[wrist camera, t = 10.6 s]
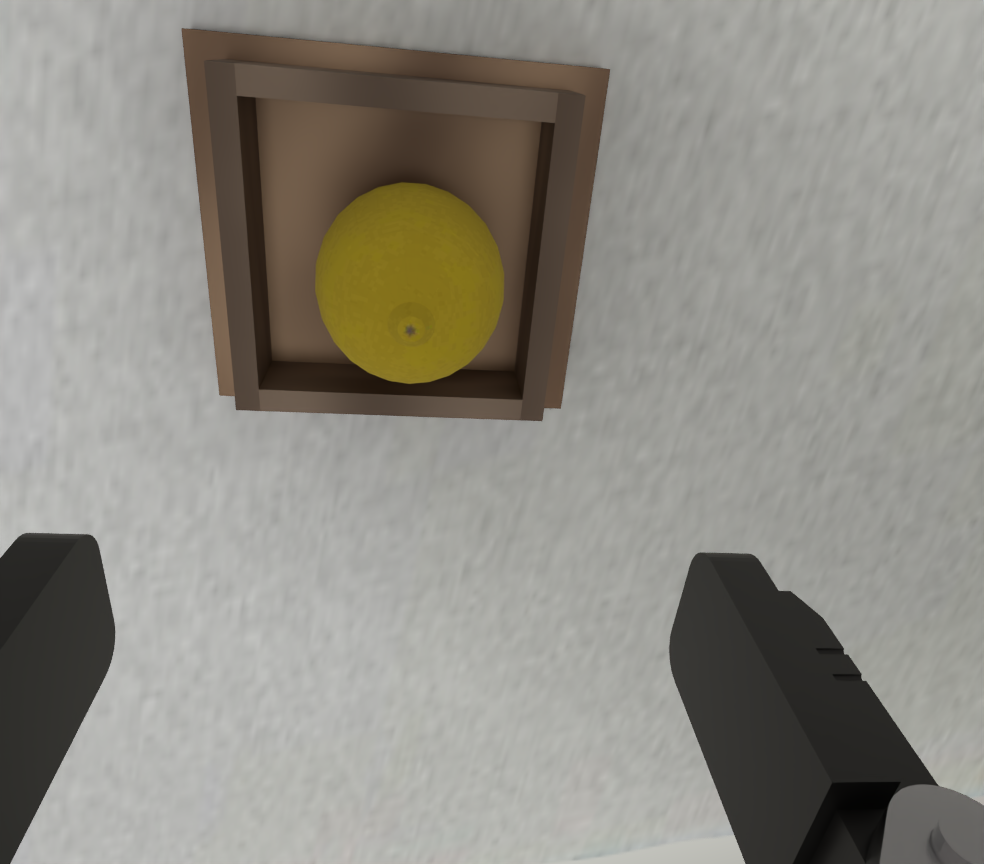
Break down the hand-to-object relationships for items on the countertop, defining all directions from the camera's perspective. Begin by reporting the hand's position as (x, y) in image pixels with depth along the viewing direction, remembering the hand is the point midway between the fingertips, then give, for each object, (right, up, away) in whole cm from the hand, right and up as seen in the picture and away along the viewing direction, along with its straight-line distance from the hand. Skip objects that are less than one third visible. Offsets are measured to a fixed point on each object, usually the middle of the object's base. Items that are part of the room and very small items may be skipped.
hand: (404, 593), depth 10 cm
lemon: (-2, +9, +15) cm, 17 cm away
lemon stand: (-2, +9, +16) cm, 18 cm away
